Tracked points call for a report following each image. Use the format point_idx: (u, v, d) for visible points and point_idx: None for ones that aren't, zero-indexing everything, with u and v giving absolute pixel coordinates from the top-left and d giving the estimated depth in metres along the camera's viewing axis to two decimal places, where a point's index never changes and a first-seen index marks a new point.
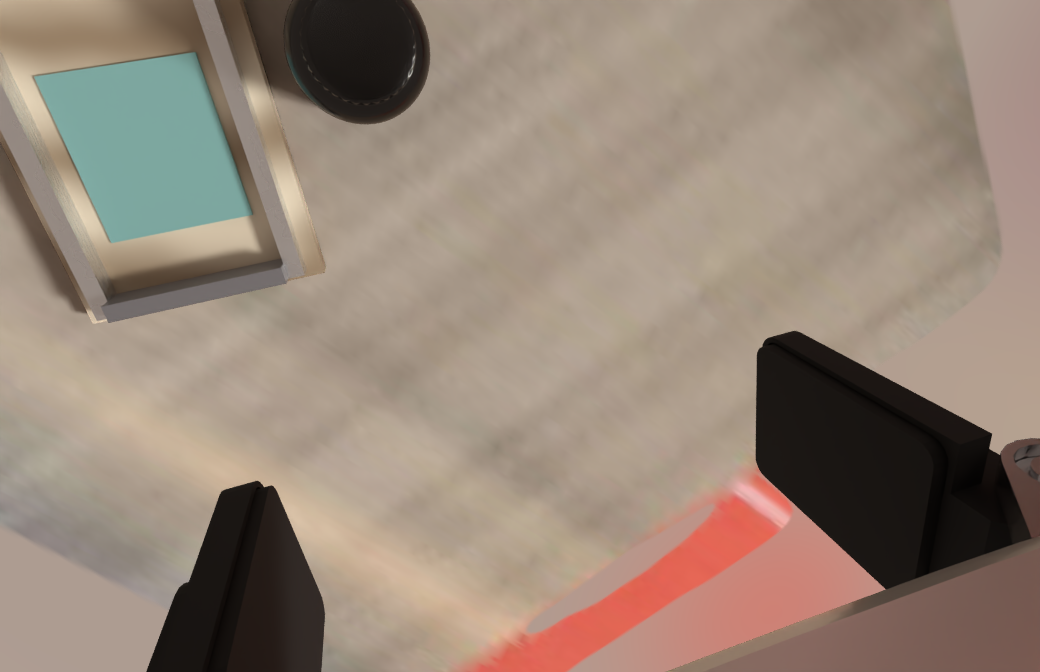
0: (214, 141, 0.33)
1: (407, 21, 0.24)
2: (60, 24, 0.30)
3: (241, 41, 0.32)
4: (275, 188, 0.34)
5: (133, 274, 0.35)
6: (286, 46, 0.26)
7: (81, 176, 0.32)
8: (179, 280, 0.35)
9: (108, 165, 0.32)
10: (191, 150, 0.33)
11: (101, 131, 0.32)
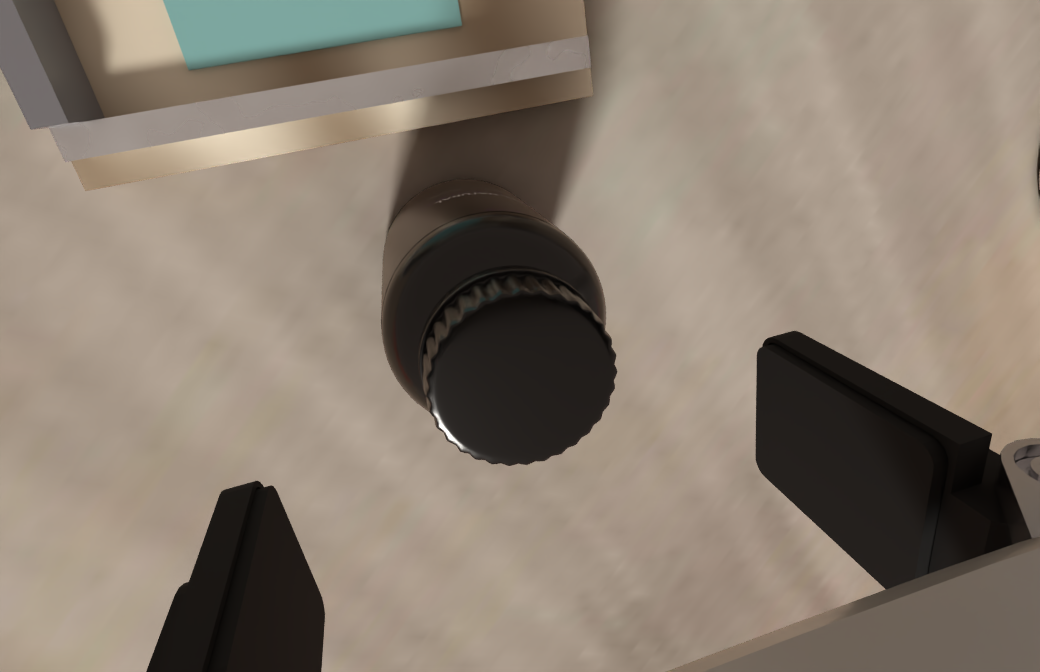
0: (321, 26, 0.19)
1: (559, 452, 0.15)
2: None
3: (480, 100, 0.21)
4: (246, 127, 0.18)
5: None
6: (499, 222, 0.16)
7: None
8: None
9: None
10: None
11: None
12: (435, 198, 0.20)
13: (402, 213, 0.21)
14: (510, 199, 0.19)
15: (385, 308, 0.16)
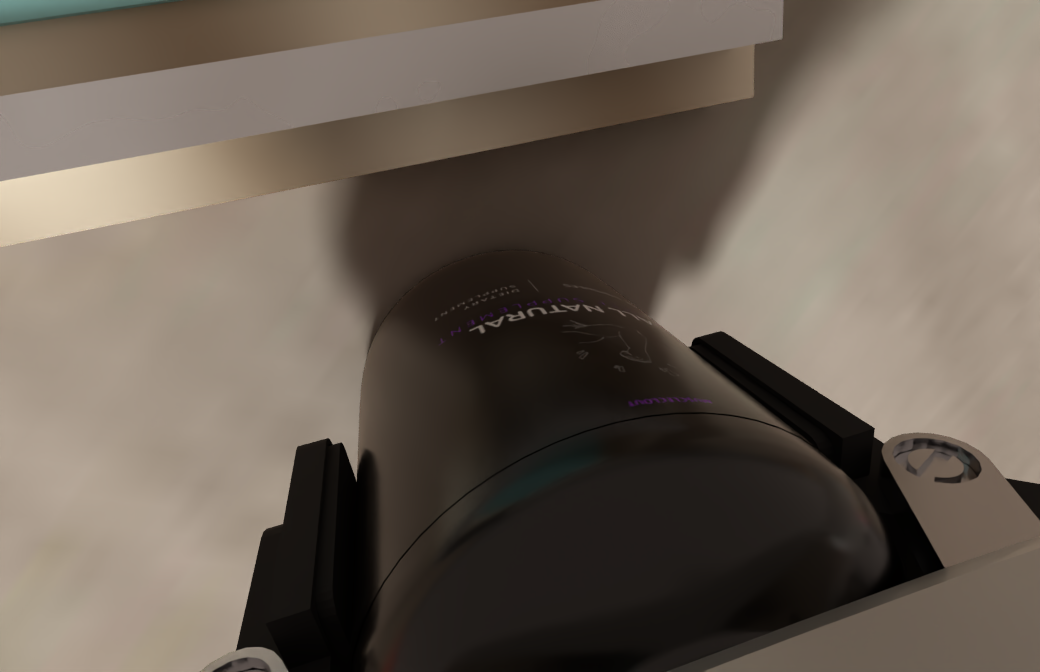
0: None
1: None
2: None
3: (547, 107, 0.11)
4: (34, 171, 0.08)
5: None
6: (693, 475, 0.05)
7: None
8: None
9: None
10: None
11: None
12: (466, 311, 0.10)
13: (396, 325, 0.11)
14: (634, 324, 0.09)
15: None
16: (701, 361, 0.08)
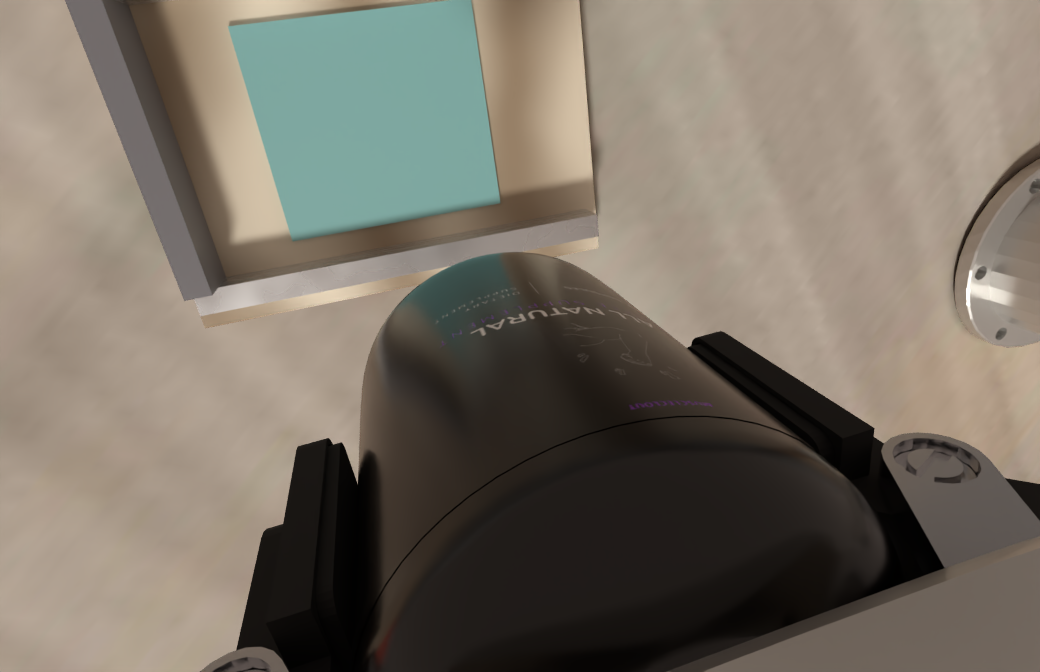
0: (394, 207, 0.25)
1: None
2: (529, 51, 0.24)
3: None
4: (337, 287, 0.24)
5: (171, 43, 0.21)
6: (695, 478, 0.05)
7: (336, 14, 0.21)
8: (167, 115, 0.21)
9: (354, 59, 0.22)
10: (381, 176, 0.24)
11: (402, 63, 0.23)
12: (467, 314, 0.10)
13: (397, 327, 0.11)
14: (635, 326, 0.09)
15: None
16: (701, 364, 0.08)
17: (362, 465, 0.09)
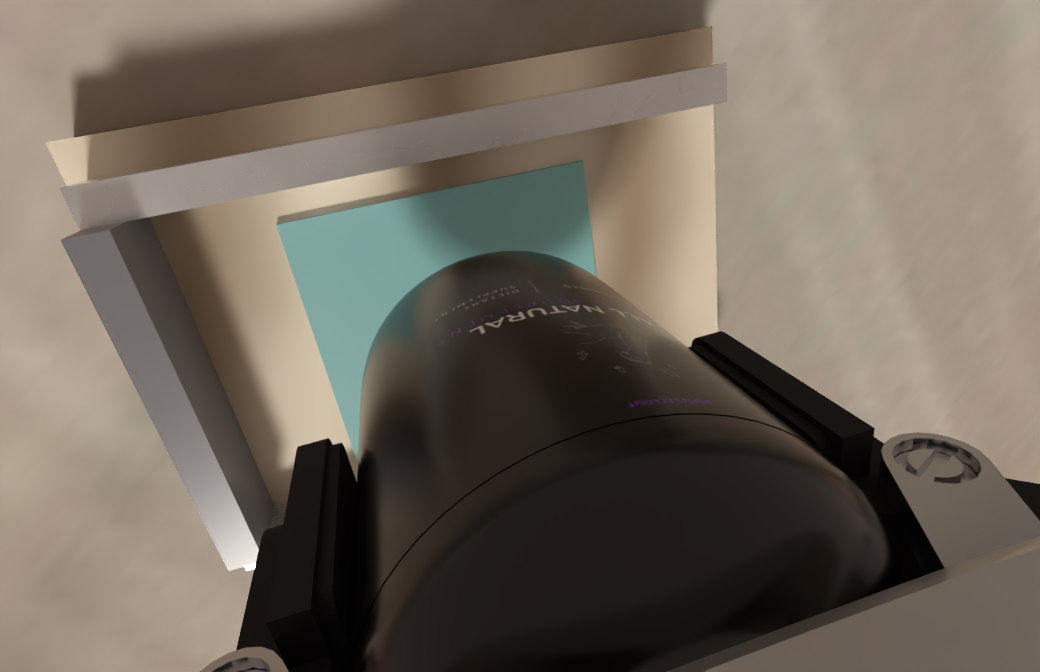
0: None
1: None
2: (650, 214, 0.19)
3: None
4: None
5: (203, 250, 0.16)
6: (694, 475, 0.05)
7: (414, 196, 0.16)
8: (199, 336, 0.16)
9: (436, 247, 0.17)
10: None
11: (496, 246, 0.18)
12: (466, 312, 0.10)
13: (396, 325, 0.11)
14: (634, 324, 0.09)
15: None
16: (701, 362, 0.08)
17: (361, 463, 0.09)
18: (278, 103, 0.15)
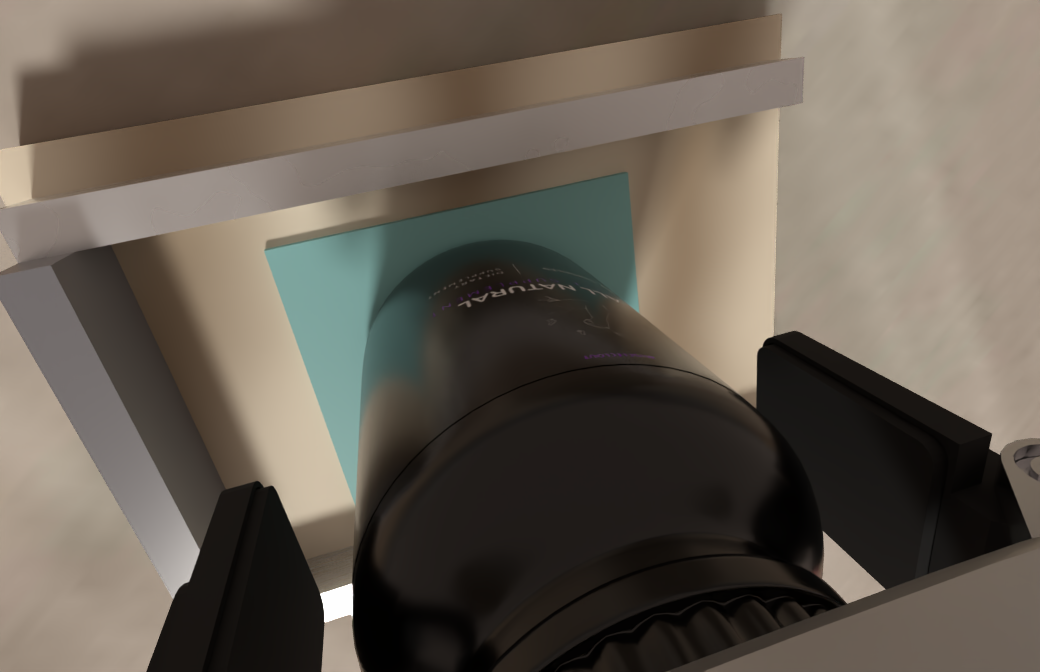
0: None
1: None
2: (702, 234, 0.16)
3: None
4: None
5: (176, 281, 0.13)
6: (630, 408, 0.07)
7: (429, 215, 0.14)
8: (173, 382, 0.14)
9: None
10: None
11: None
12: (456, 290, 0.11)
13: (395, 304, 0.12)
14: (601, 300, 0.10)
15: (359, 592, 0.07)
16: (657, 331, 0.09)
17: (362, 421, 0.10)
18: (266, 105, 0.12)
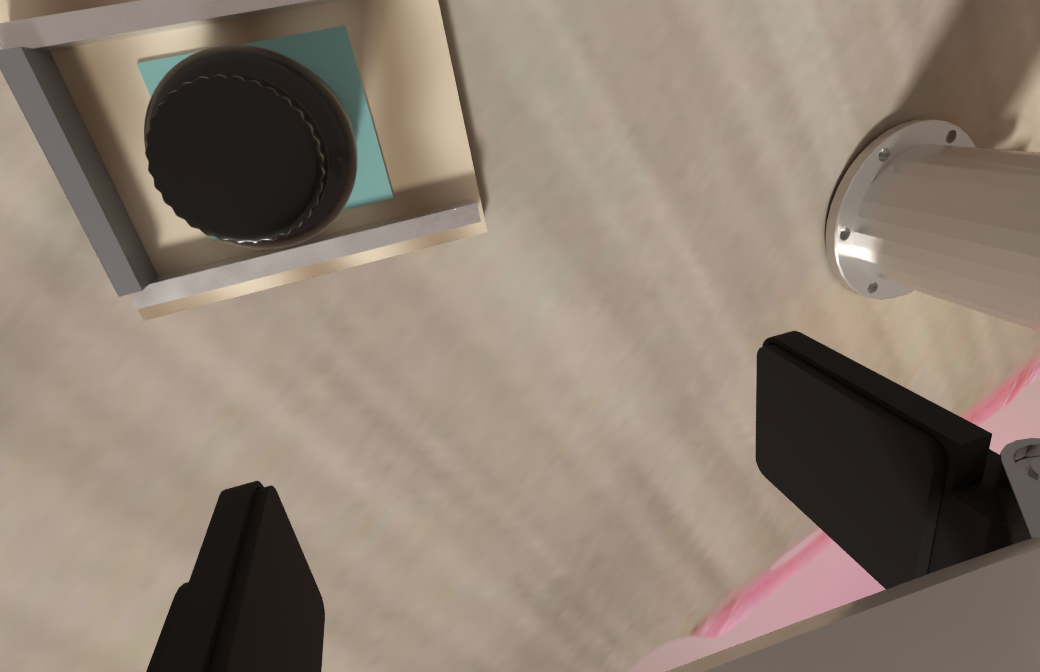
0: None
1: (283, 232, 0.18)
2: (403, 67, 0.28)
3: (409, 241, 0.31)
4: (253, 278, 0.28)
5: (89, 80, 0.25)
6: (235, 48, 0.18)
7: None
8: (92, 141, 0.25)
9: None
10: None
11: None
12: None
13: None
14: None
15: (144, 128, 0.19)
16: None
17: None
18: None
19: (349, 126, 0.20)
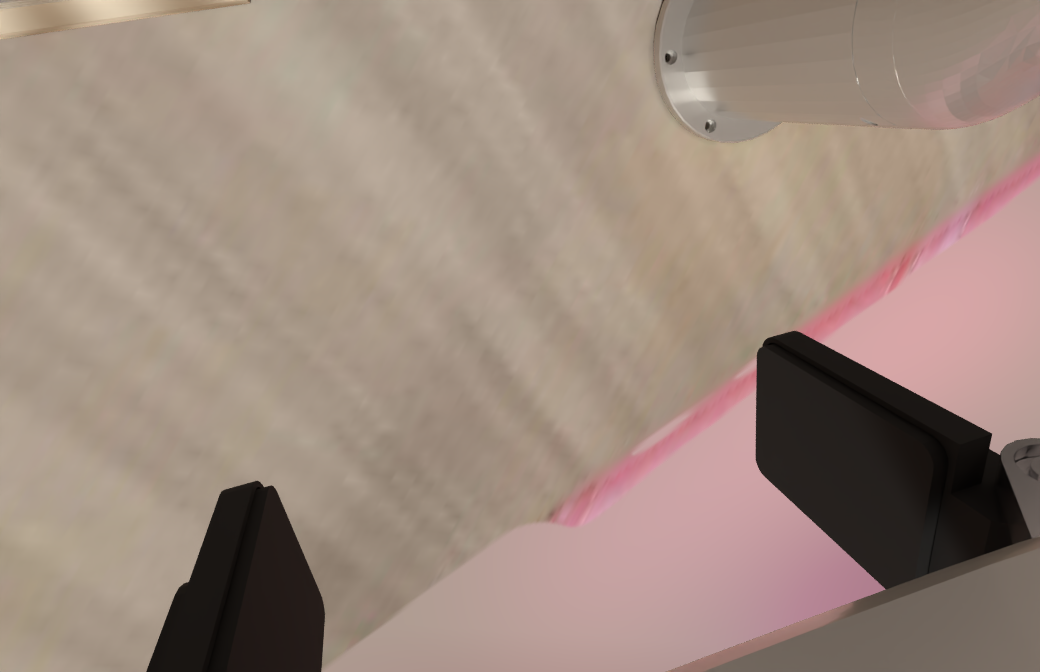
0: None
1: None
2: None
3: None
4: None
5: None
6: None
7: None
8: None
9: None
10: None
11: None
12: None
13: None
14: None
15: None
16: None
17: None
18: None
19: None
